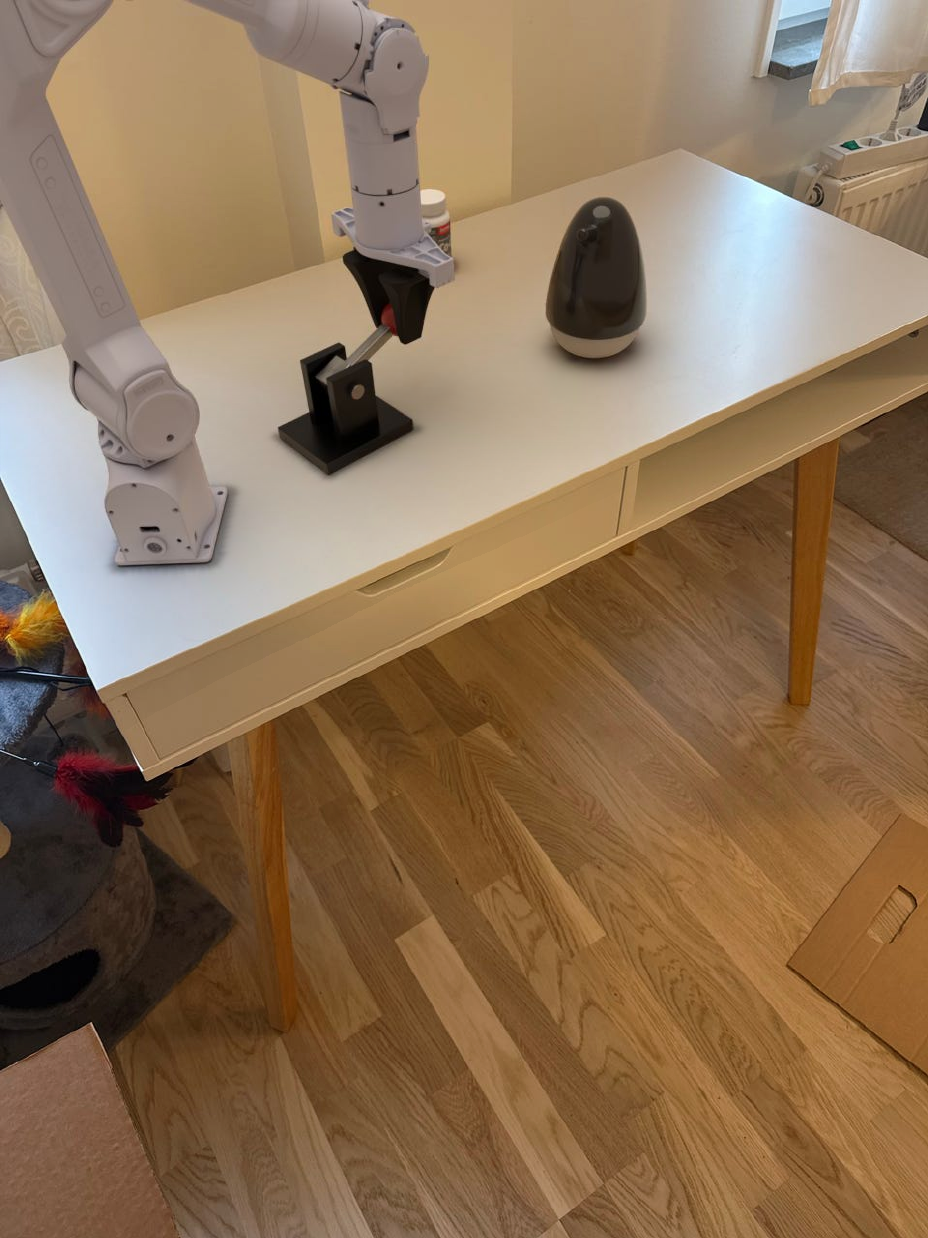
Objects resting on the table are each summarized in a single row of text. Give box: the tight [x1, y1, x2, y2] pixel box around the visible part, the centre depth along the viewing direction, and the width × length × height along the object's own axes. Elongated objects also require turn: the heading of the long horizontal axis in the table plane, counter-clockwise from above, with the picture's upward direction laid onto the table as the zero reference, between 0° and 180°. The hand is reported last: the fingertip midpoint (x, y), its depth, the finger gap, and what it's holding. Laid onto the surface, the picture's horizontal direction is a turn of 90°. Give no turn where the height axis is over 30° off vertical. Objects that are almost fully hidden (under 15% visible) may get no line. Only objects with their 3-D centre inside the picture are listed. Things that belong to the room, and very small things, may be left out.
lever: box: [315, 302, 398, 394], centre depth 85 cm, size 11×3×3 cm, turn 132°
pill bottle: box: [420, 188, 453, 258], centre depth 108 cm, size 5×5×8 cm
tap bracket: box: [277, 341, 414, 476], centre depth 86 cm, size 10×8×8 cm
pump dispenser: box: [545, 196, 648, 359], centre depth 92 cm, size 10×10×15 cm
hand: (398, 332), depth 86 cm, fingers closed on lever, 3 cm apart
